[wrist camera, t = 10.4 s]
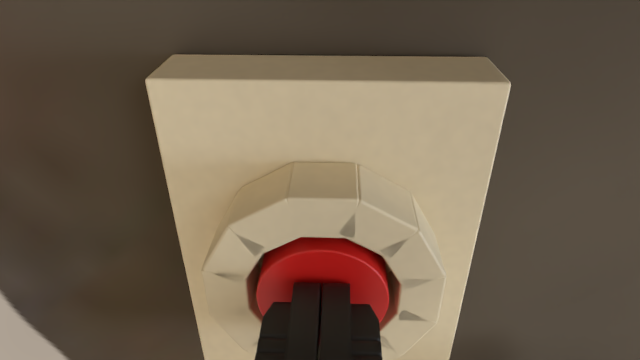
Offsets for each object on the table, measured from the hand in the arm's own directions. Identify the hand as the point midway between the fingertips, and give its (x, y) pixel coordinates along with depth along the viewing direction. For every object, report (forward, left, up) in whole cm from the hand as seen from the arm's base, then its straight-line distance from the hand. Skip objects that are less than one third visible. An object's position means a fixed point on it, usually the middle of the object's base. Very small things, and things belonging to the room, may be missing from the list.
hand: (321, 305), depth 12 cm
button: (0, 0, -2) cm, 2 cm away
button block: (0, 0, -4) cm, 4 cm away
